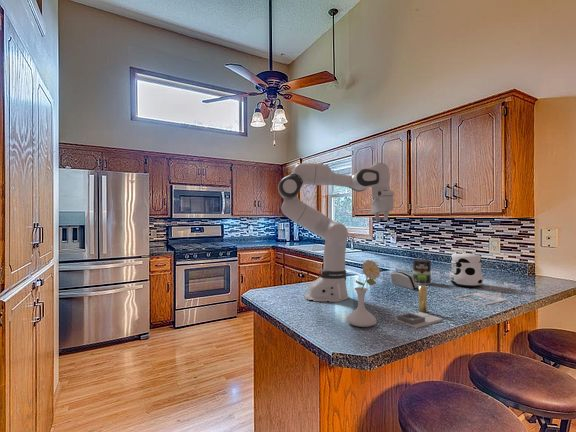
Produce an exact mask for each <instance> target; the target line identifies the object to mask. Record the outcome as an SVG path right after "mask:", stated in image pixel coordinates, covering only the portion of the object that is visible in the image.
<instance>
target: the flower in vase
mask: <svg viewBox="0 0 576 432" xmlns="http://www.w3.org/2000/svg"><path fill="white" fill-rule="evenodd" d="M361 270H362V273H364V275H365V277H366V279H365V281H364V283H363V282H361V281H358V280H355V283H356V284H358V285H361V286H362V287H360V286H359V287H355V288H354V290H355V292H356V294H357V300H358V301H357V308H355V310H353V311H351V312H350V313H349V314H348V315H347V316H346V319H345V320H346V322H347V323H349V324H350V325H352V326H354V327H355V326H356V327H361V328H366V327H367V328H368V327H372V326H374V325H376V323H377V319H376V317H375V316H374V315H373V314H372V313H371V312H370V311H369V310H367V309H366V306H365V297H366V293H367V291H368V290H369V288H367V287H364V286H365V285H366V283H367V284H368V285H369V286H373V285H376V284H377V282H376V281H375V280H377V279H378V278H379V277H381V268H380V267H379V265H378V264H377V263H376V262H375V260H374V261H373V260H372V259H371V260H370V259H367V260H365V261H364V262H362V269H361Z"/></svg>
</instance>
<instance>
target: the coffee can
mask: <svg viewBox="0 0 576 432" xmlns="http://www.w3.org/2000/svg"><path fill="white" fill-rule="evenodd" d="M431 262H432V260H430V259H422V258H421V259H420V258H416V259H412V277H413V279H414V281H415V284H416V285H421V286H426V285H427V286H428V285H431V284H432V283H431V280H432V279H431V278H432V277H431V275H432V273H431V270H432V267H431V264H432V263H431Z"/></svg>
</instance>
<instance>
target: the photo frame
mask: <svg viewBox="0 0 576 432" xmlns="http://www.w3.org/2000/svg"><path fill="white" fill-rule="evenodd" d="M469 296H474V297H478V296H479V297H478V298H482V297H483V299H488V300H491V302H487V303H483V302H479V301H474V300H470V299H467V298H466V297H469ZM455 299H458V300H461V299H462V300H461V301H465V300H466V301H465V302H469V301H470V303H473V302H474V304H477V303H478V305H481V304H482V306H489V305H493V303H494V304H499V303H502V302H507V301H508V299H506V298H503V297H499V296H494V295H489V294H485V293H479V292H476V293H470V294H465V295H459V296H455ZM488 304H489V305H488Z"/></svg>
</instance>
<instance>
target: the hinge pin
mask: <svg viewBox="0 0 576 432" xmlns="http://www.w3.org/2000/svg"><path fill="white" fill-rule="evenodd" d="M418 288H419V289H418V312H422V313H426V314H428V313H427V312H428V308H427V307H428V298H427V295H428V293H427V291H428V290H427V288H428V287H427V286H426V285H418Z"/></svg>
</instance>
